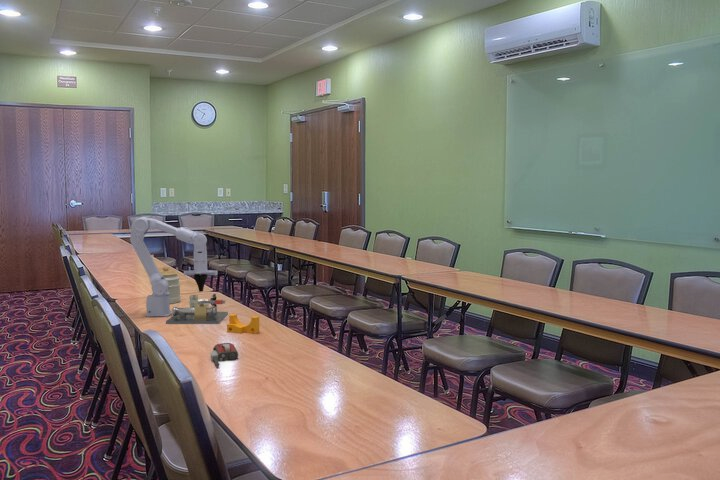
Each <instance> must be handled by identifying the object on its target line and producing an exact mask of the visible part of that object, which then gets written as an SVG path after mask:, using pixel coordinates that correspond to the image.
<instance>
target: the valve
mask: <svg viewBox="0 0 720 480" xmlns="http://www.w3.org/2000/svg"><path fill="white" fill-rule="evenodd" d="M216 295H217V294H216V293H213V294H212V297H211V298H210V299H209V300H208V299H206V300H207V301H215V300H217V296H216ZM202 300H203V299H202V298H199V295H197V294H191V295H189V301H188V304H189V308H194V307H195V306H196V305H197V304H200V303H201V301H202ZM210 305H211V306H212V307H217V308H218V304H210Z"/></svg>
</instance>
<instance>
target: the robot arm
mask: <svg viewBox="0 0 720 480" xmlns="http://www.w3.org/2000/svg"><path fill="white" fill-rule="evenodd" d="M130 230H131V231H130V237H129V240H130V243H131V245H132V247H133V249H134V251H135V252H136V255H137V257H138V259H139V261H140V263H141V265H142V266H143V268H144V271H145V272H146V274H147V276H148V280H149V283H150V285H151V292H152V293H151V294H148V295H147V297H146V300H145V301H146V302H145V303H146V305H145V306H146V315H145V316H146V317H169V316H170V315H171V314H172V310H171V308H170V307H171V306H170V305H171V304H170V298H169V292H168V291H167V290H168V288H169V282H168V281H167V280H166V279H165V278H164V277H163V275H162V274H161V273H160V272H159V270H160V269H159V268H158V266H157V264H156V262H155V260H154V259H153V257H152V255H151V253H150V251H149V249H148V247H147V245H146V243H145V241H144V238H145V237H146V233H147V232H148V231H152V230H154V231H155V230H159V231H161V232H165V233H168V234H171V235H174V236H175V238H176V239H177V240H179V241H181V242H184V243H186V244H189V245H193V270H192V269H191V270H184V271H183V276H193V279H194V280H195V283H196V285H197V288H198V292H199V293H200V292H204V287H205V284H206V281H207V278H208V276H218V274H219V273H218V270H213V269H208V251H207V249H208V248H207V242H208V239H207V236H206V235H205V234H203V233H202V232H201V233H200V232H199V231H194V230H191V229H189V228H188V227H186V226H184V227H183V226H181V227H175V226H173V225H170V224H168V223H165V222H164V221H160V220H159V219H157V218H152V217H148V216H140V217H137V218H135V219H134V221H133V222H132V224H131V227H130Z"/></svg>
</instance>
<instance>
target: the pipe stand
mask: <svg viewBox="0 0 720 480" xmlns="http://www.w3.org/2000/svg"><path fill="white" fill-rule="evenodd" d="M171 311H172V313H171V314H172V316H171V317H170V318H168V319H167V320H166V321H165V325H177V324H178V325H184V324H185V325H186V324H187V325H192V324H193V325H194V324H195V325H198V324H199V325H203V324H204V325H207V324H209V325H210V324H211V325H212V324H213V325H216V324H218V325H219V324H221V322H222V321H223V320H224V319H225V318H226V317H227V315H228V311H218V306H217V307H214V306H212V307H210V304H204V305H203V306H200V304H197V305H196V306H195V307H194V308H190V307H178V306H173V307H172V310H171Z"/></svg>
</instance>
